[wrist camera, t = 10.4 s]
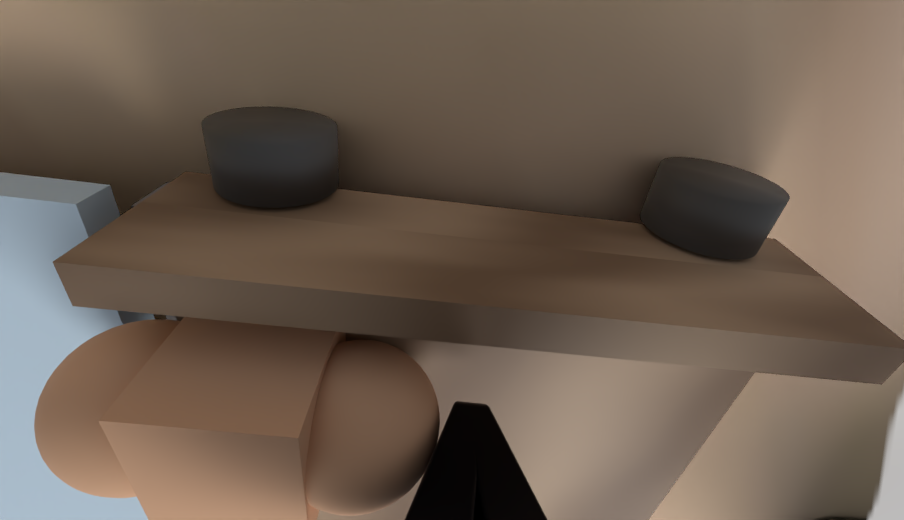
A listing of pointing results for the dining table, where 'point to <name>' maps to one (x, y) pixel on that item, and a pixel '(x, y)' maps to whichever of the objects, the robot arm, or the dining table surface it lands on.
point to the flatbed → (499, 299)
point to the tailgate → (45, 336)
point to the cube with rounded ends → (238, 420)
